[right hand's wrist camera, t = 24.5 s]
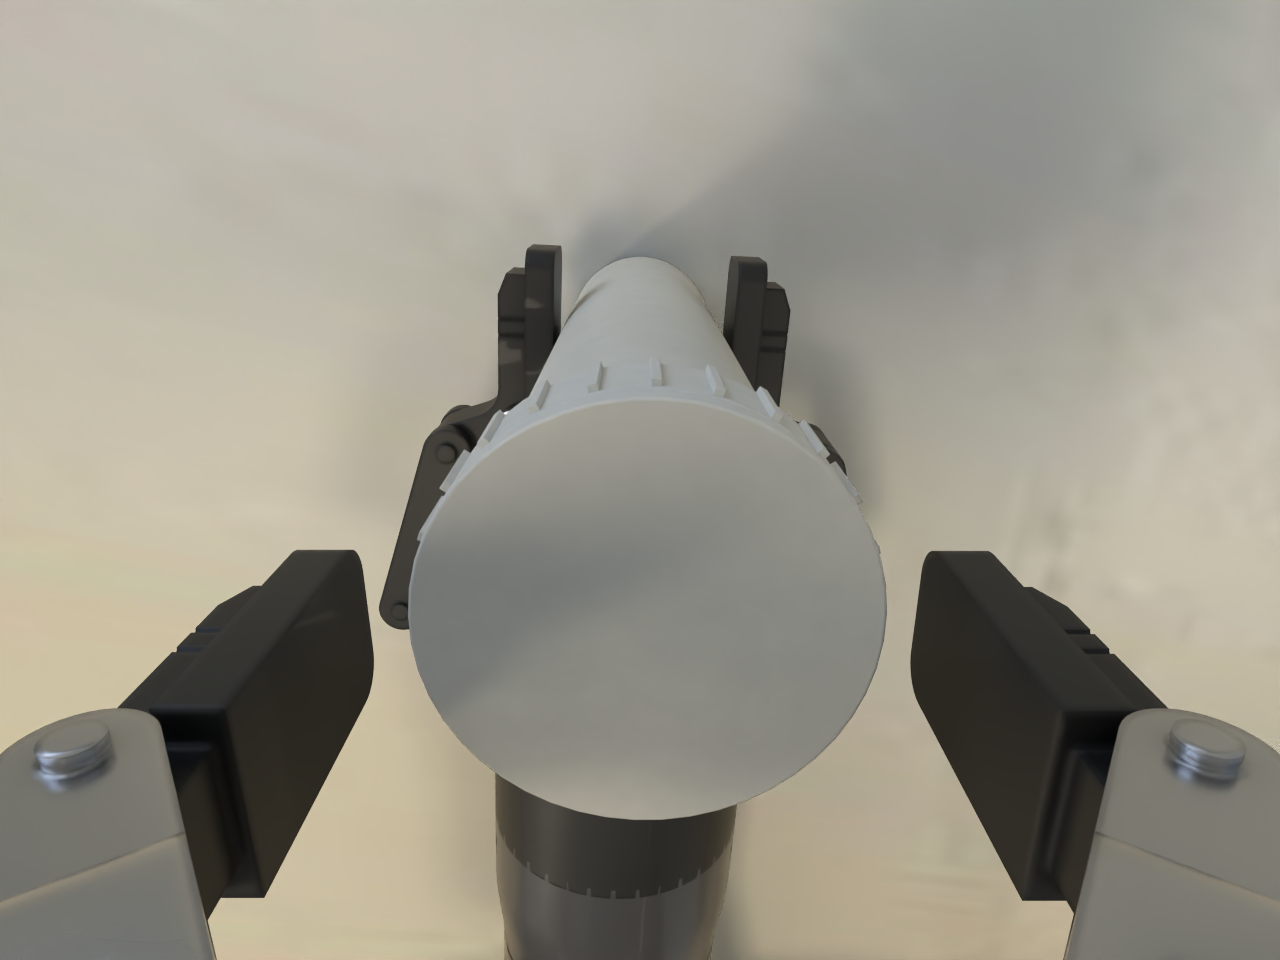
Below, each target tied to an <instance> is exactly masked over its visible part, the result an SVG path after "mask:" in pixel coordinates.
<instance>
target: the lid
mask: <svg viewBox="0 0 1280 960" xmlns="http://www.w3.org/2000/svg"><path fill="white" fill-rule="evenodd" d="M829 455H830V453H829V452H828V451H827V449H826V448H825V446H824V445H823V444H822V442H821V441H820V439H819V438H818V437H817V435H816V434H815V432H814V431H813V430H812V428H811V427H810V425H809V424H808V423H807V422H806V421H805V420H802V421H801V422H800V423H799V424H798V423H797V422H796V421H795V420H794V419H793V418H792V417H791V416H790V415H788V414H787V413H786V412H784V411H783V410H782V409H781V408H779V407H778V406H777V405H776V403H775V402H774V400H773V399H772V397H771V395H770V394H769V392H768V391H767V390H766V389H764V388H763V387H761V386H760V387H759V388H758V390H757V391H756V392H755V391H753V390H752V389H750V388H748V387H746V386H745V385H743V384H740V383H738V382H735V381H733V380H730V379H728V378H725V377H723V376H721V375H719V373H718V370H717V368H716V367H715V366H711V365H707V367H706V370H705V371H703V370H699V369H696V368H692V367H687V366H679V365H671V364H663V363H660V358H659V357H652V356H651V357H650V363H630V364H623V365H615V366H608V367H603V365H602V362H601V361H598V362H594V363H592V367H591V370H590V371H586V372H583V373H579V374H575V375H572V376H570V377H568V378H565V379H563V380H561V381H558V382H556V383H553V384H551V385H550V384H549V382H548V380H547V379H546V380H544V381H542V382H540V383H539V384H538V386H537V388H536V390H535V392H534V394H533V395H531V396H529V397H528V398H526V399H524V400H523V401H521V402H520V403H519V404H518V405H516V406H515V407H514V408H513V409H511V410H510V411H509V412H507V413H506V414H504V413H503V412H502V411H501V410H499V411H498V412H497V413H495V414H494V416H493V417H492V419H491V420H490V422H489V424H488V425H487V427H486V429H485V430H484V432H483V434H482V435H481V437H480V439H479V440H478V442H477V445H476V446H475V448H474V449H473V451H472V452H471V453H469V452H468V451H466V450H464V451H463V452H462V454H461V455H460V457H459V458H458V460H457V461H456V463H455V465H454V466H453V468H452V469H451V471H450V472H449V474H448V475H447V477H446V479H445V480H444V482H443V483H442V485H441V486H440V489H441V490H442V491H444V492H446V493H445V495H444V496H441V498H440V499H439V501H438V503H437V504H436V506H435V507H434V509H433V511H432V512H431V514H430V515H429V517H428V519H427V520H426V522H425V524H424V525H423V527H422V528H421V530H420V532H419V535H418V538H417V540H418V541H421V542H420V545H419V548H418V550H417V553H416V556H415V559H414V564H413V569H412V574H411V580H410V585H409V601H408V620H409V629H410V638H411V645H412V649H413V652H414V656H415V660H416V664H417V668H418V671H419V673H420V676H421V678H422V681H423V683H424V685H425V688H426V690H427V692H428V695H429V697H430V698H431V700H432V702H433V704H434V705H435V707H436V709H437V710H438V712H439V714H440V715H441V717H442V719H443V720H444V721H445V723H446V724H447V725H448V726H449V728H450V729H451V730H452V732H453V733H454V734H455V735H456V737H457V738H458V739H459V740H460V741H461V742H462V743H463V744H464V745H465V746H466V747H467V748H468V749H469V750H470V751H471V752H472V753H473V754H474V755H475V756H476V757H477V758H478V759H479V760H480V761H481V762H483V763H484V764H485V765H487V766H488V767H489V768H490V769H492V770H493V771H494V772H496V773H497V774H498V775H500V776H501V777H502V778H504V779H506V780H507V781H509V782H511V783H513V784H514V785H516V786H518V787H519V788H521V789H523V790H524V791H526V792H528V793H531V794H533V795H535V796H537V797H540V798H542V799H544V800H546V801H548V802H551V803H554V804H557V805H560V806H563V807H566V808H569V809H572V810H575V811H579V812H584V813H588V814H593V815H598V816H603V817H610V818H620V819H631V820H663V819H672V818H681V817H690V816H695V815H699V814H704V813H708V812H713V811H717V810H721V809H723V808H726V807H729V806H732V805H735V804H738V803H741V802H744V801H747V800H749V799H751V798H753V797H755V796H757V795H760V794H762V793H764V792H766V791H768V790H770V789H772V788H774V787H775V786H777V785H778V784H780V783H782V782H783V781H785V780H787V779H788V778H790V777H792V776H793V775H795V774H796V773H797V772H799V771H800V770H801V769H802V768H804V767H805V766H806V765H808V764H809V763H810V762H811V761H813V760H814V759H815V758H816V757H817V756H818V755H819V754H820V753H821V752H822V751H823V750H824V749H825V748H826V747H827V746H828V745H829V744H830V743H831V742H832V741H833V740H834V739H835V738H836V737H837V736H838V735H839V733H840V732H841V731H842V729H843V728H844V727H845V726H846V724H847V723H848V722H849V720H850V719H851V718H852V716H853V715H854V713H855V711H856V710H857V708H858V706H859V705H860V703H861V701H862V699H863V698H864V696H865V694H866V692H867V690H868V688H869V685H870V683H871V680H872V678H873V676H874V673H875V671H876V668H877V665H878V661H879V657H880V653H881V649H882V645H883V642H884V634H885V625H886V616H887V603H886V583H885V578H884V573H883V568H882V563H881V557H880V548H879V545H878V544H877V542H876V541H875V539H874V537H873V535H872V532H871V529H870V527H869V525H868V524H867V522H866V520H865V518H864V516H863V514H862V512H861V510H860V508H859V507H858V504H860V503H861V502H863V501H862V499H861V497H860V495H859V493H858V492H857V491H856V489H855V488H854V486H853V485H852V484H851V482H850V481H849V479H848V478H847V476H846V475H845V474H844V472H843V471H842V469H841V468H840V467H839V465H838V464H837V462H833V463H831V464H829V462H828V461H827V459H826V458H827V457H828V456H829Z"/></svg>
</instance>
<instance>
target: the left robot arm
mask: <svg viewBox="0 0 1280 960" xmlns="http://www.w3.org/2000/svg"><path fill="white" fill-rule="evenodd" d="M561 284H562V249H561V246H555V245H536V244H533V245H532V246H530V247H529V248H528V249H527V251H526V259H525V268H517V267H514V268H513V269H511V270H510V271H509V272H507V273H506V275H505V277H504V280H503V283H502V285H501V288H500V290H499V293H498V386H499V388H498V396H497V397H496V398H494V399H492V400H490V401H488V402H485V403H481V404H478V405H475V406H469V405H459V406H456V407H454V408H452V409H451V410H449V412H448V413H447V414H446V415H445V416H444V418H443V419H442V422H441V424H440V426H439V427H438V428H436V429H435V430H434V431H433V432H432V433H431V434H430V435H429V437H428V438H427V439H426V441H425V443H424V445H423V449H422V453H421V456H420V460H419V464H418V467H417V471H416V474H415V478H414V482H413V485H412V489H411V492H410V496H409V500H408V503H407V507H406V511H405V514H404V518H403V521H402V525H401V529H400V532H399V536H398V539H397V543H396V547H395V550H394V554H393V558H392V561H391V565H390V568H389V572H388V576H387V579H386V583H385V586H384V590H383V594H382V597H381V601H380V605H379V611H380V615H381V617H382V619H383V620H384V621H385V622H386V623H387V624H388V625H390V626H391V627H393V628H396V629H401V630H406V629H409V620H408V601H409V585H410V580H411V574H412V569H413V564H414V559H415V556H416V553H417V550H418V548H419V545H420V542H421V541H418V540H417V538H418V535H419V532H420V530H421V528H422V527H423V525H424V524H425V522H426V520H427V519H428V517H429V515H430V514H431V512H432V511H433V509H434V507H435V506H436V504H437V503H438V501H439V499H440V498H441V496H444V495H445V493H446V492H444V491H442V490H441V489H440V486H441V485H442V483H443V482H444V480H445V479H446V477H447V475H448V474H449V472H450V471H451V469H452V468H453V466H454V465H455V463H456V461H457V460H458V458H459V457H460V455H461V454H462V452H463V451H464V450H466V451H468V452H469V453H471V452H472V451H473V449H474V448H475V446H476V445H477V442H478V440H479V439H480V437H481V435H482V434H483V432H484V430H485V429H486V427H487V425H488V424H489V422H490V420H491V419H492V417H493V416H494V414H495V413H497V412H498V411H499V410H501V411H502V412H503V413H504V414H506V413H507V412H509V411H510V410H511V409H513V408H514V407H515V406H516V405H518V404H519V403H520V402H521V401H523V400H524V399H526V398H528V397H529V396H530V394H531V392H532V390H533V388H534V386H535V384H536V382H537V380H538V378H539V376H540V373H541V371H542V369H543V367H544V365H545V363H546V361H547V359H548V357H549V355H550V353H551V351H552V349H553V347H554V345H555V343H556V341H557V339H558V337H559V335H560V333H561ZM789 318H790V308H789V304H788V300H787V297H786V293H785V289H783V288H782V287H781V286H780V285H778V284H777V283H776V282H767V263H766V262H765V261H763V260H762V259H760V258H759V257H742V256H731V259H730V264H729V272H728V283H727V294H726V306H725V317H724V328H723V336H724V338H725V340H726V341H727V343H728V345H729V347H730V349H731V350H732V352H733V354H734V356H735V357H736V359H737V361H738V363H739V364H740V366H741V368H742V370H743V372H744V373H745V375H746V377H747V379H748V380H749V382H750V384H751V386H752V387H753V389H754V391H755V392H756V391H757V390H758V388H759V387H760V386H761V387H763V388H764V389H766V390H767V391H768V392H769V394H770V395H771V397H772V399H773V400H774V402H775V403H776V405H777V406H778V407H779V404H780V395H781V386H782V378H783V369H784V361H785V349H786V343H787V333H788V326H789ZM796 422H797V421H796ZM797 423H798V424H799V422H797ZM808 424H809V423H808ZM809 425H810V427H811V428H812V430H813V431H814V432H815V434H816V435H817V437H818V438H819V439H820V441H821V442H822V444H823V445H824V446H825V448H826V449H827V451H828V452H829V453H830V455H829V456H828V457H827V458H826V459H827V461H828V462H829V464H831V463H833V462H837V464H838V465H839V467H840V468H841V469H842V471H843V472H844V474H845V475H846V469H845V464H844V462H843V460H842V459H841V457H840V456H839V454H838V453H837V452H836V450H835V449H834V447H833V446H832V445H831V443H830V442H829V440H828V439H827V438H826V436H825V435H824V434H823V432H822V431H821V430H820V429H819V428H818V427H817V426H815V425H813V424H809ZM846 476H847V475H846ZM495 779H496V871H497V884H498V891H499V897H500V903H501V908H502V913H503V918H504V928H505V930H504V939H505V960H710V959H711V950H712V942H713V937H714V932H715V928H716V925H717V922H718V919H719V916H720V913H721V909H722V905H723V901H724V897H725V893H726V887H727V882H728V875H729V866H730V858H731V849H732V841H733V832H734V824H735V815H736V807H737V804H735V805H732V806H729V807H726V808H723V809H721V810H717V811H713V812H708V813H704V814H699V815H695V816H690V817H681V818H672V819H663V820H631V819H620V818H610V817H603V816H598V815H593V814H588V813H584V812H579V811H575V810H572V809H569V808H566V807H563V806H560V805H557V804H554V803H551V802H548V801H546V800H544V799H542V798H540V797H537V796H535V795H533V794H531V793H528V792H526V791H524V790H523V789H521V788H519V787H518V786H516V785H514V784H513V783H511V782H509V781H507V780H506V779H504V778H502V777H501V776H500V775H498V774H497V773H496V772H495Z"/></svg>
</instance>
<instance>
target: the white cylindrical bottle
mask: <svg viewBox="0 0 1280 960" xmlns="http://www.w3.org/2000/svg"><path fill="white" fill-rule="evenodd" d="M651 356H652V357H659V358H660V363H663V364H671V365H679V366H687V367H692V368H696V369H699V370H703V371H705V370H706V367H707V365H711V366H715V367H716V368H717V370H718V373H719V375H721V376H723V377H725V378H728V379H730V380H733V381H735V382H738V383H740V384H743V385H745V386H746V387H748V388H750V389H752V390H753V391H754V389H753V387H752V386H751V384H750V382H749V380H748V379H747V377H746V375H745V373H744V372H743V370H742V368H741V366H740V364H739V363H738V361H737V359H736V357H735V356H734V354H733V352H732V350H731V349H730V347H729V345H728V343H727V341H726V340H725V338H724V336H723V334H722V333H721V331H720V329H719V327H718V326H717V324H716V322H715V320H714V318H713V317H712V315H711V313H710V311H709V310H708V308H707V306H706V304H705V303H704V301H703V299H702V297H701V295H700V294H699V292H698V290H697V289H696V287H695V286H694V284H693V283H692V282H691V280H690V279H689V278H688V277H687V276H686V275H685V274H684V273H683V272H682V271H680V270H679V269H677V268H676V267H674V266H673V265H671V264H669V263H667V262H664V261H661V260H659V259H654V258H650V257H630V258H625V259H621V260H618V261H615V262H613V263H611V264H609V265H607V266H605V267H604V268H602V269H601V270H599V271H598V272H597V273H596V274H595V275H594V276H593V277H592V278H591V279H590V280H589V281H588V282H587V284H586V285H585V286H584V288H583V290H582V291H581V293H580V295H579V297H578V299H577V301H576V303H575V305H574V307H573V309H572V311H571V313H570V315H569V317H568V319H567V321H566V323H565V325H564V327H563V329H562V331H561V333H560V335H559V337H558V339H557V341H556V343H555V345H554V347H553V349H552V351H551V353H550V355H549V357H548V359H547V361H546V363H545V365H544V367H543V369H542V371H541V373H540V376H539V378H538V380H537V382H536V384H535V386H534V388H533V390H532V392H531V394H530V396H531V395H533V394H534V392H535V390H536V388H537V386H538V384H539V383H540V382H542V381H544V380H546V379H547V380H548V382H549V384H550V385H551V384H553V383H556V382H558V381H561V380H563V379H565V378H568V377H570V376H572V375H575V374H579V373H583V372H586V371H590V370H591V367H592V363H594V362H598V361H601V362H602V365H603V367H608V366H615V365H623V364H630V363H650V357H651Z"/></svg>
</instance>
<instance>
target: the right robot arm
mask: <svg viewBox="0 0 1280 960" xmlns="http://www.w3.org/2000/svg"><path fill="white" fill-rule="evenodd" d="M373 670H374V655H373V646H372V638H371V630H370V622H369V615H368V607H367V599H366V591H365V584H364V576H363V569H362V564H361V560H360V558H359V556H358V554H357V553H356V551H354V550H296V551H294V552H293V553H291V555H290V556H289V557H288V558H287V559H286V560H285V561H284V562H283V563H282V564H281V565H280V566H279V568H278V569H277V570H276V571H275V572H274V573H273V574H272V575H271V576H270V577H269V578H268V579H267V581H266V582H265V583H264V584H263V585H262V586H252V587H250V588H248V589H247V590H245V591H243V592H241V593H239V594H238V595H236V596H234V597H232V598H230V599H229V600H227V601H225V602H223V603H221V604H220V605H218V606H217V607H216V608H215V609H214V610H213V611H212V612H211V613H210V614H209V615H208V616H207V617H206V618H205V619H204V620H203V621H202V622H201V623H200V624H199V625H198V626H197V627H196V632H195V633H190V634H189V635H188V636H187V638H186V639H185V640H184V641H183V642H182V643H181V644H180V645H179V646H178V647H177V652H172V653H171V654H170V655H169V656H168V657H167V658H166V659H165V660H164V661H163V662H162V663H161V664H160V665H159V666H158V667H157V668H156V669H155V670H154V671H153V672H152V673H151V674H150V675H149V676H148V677H147V678H146V679H145V680H144V681H143V682H142V683H141V684H140V685H139V686H138V687H137V688H136V689H135V691H134V692H133V693H132V694H131V695H130V696H129V697H128V698H127V699H126V700H125V701H124V702H123V703H122V704H121V705H120V706H119V707H118V708H113V709H102V710H96V711H91V712H86V713H82V714H78V715H74V716H71V717H68V718H65V719H62V720H59V721H56V722H54V723H51V724H49V725H47V726H44V727H42V728H40V729H38V730H36V731H34V732H32V733H30V734H28V735H27V736H25V737H23V738H22V739H20V740H18V741H17V742H15V743H14V744H13V745H11V746H10V747H9V748H7V749H6V750H5V751H4V752H3V753H1V754H0V960H217V958H216V954H215V950H214V946H213V941H212V937H211V933H210V929H209V925H208V919H209V917H210V915H211V913H212V912H213V910H214V908H215V907H216V905H217V903H218V901H219V900H220V898H264V897H265V895H266V893H267V891H268V890H269V888H270V886H271V884H272V882H273V880H274V878H275V876H276V874H277V872H278V870H279V868H280V866H281V865H282V863H283V861H284V859H285V857H286V855H287V853H288V851H289V849H290V847H291V845H292V843H293V841H294V840H295V838H296V836H297V834H298V832H299V830H300V828H301V826H302V824H303V822H304V820H305V818H306V816H307V815H308V813H309V811H310V809H311V807H312V805H313V803H314V801H315V799H316V797H317V795H318V793H319V791H320V790H321V788H322V786H323V784H324V782H325V780H326V778H327V776H328V774H329V772H330V770H331V768H332V766H333V765H334V763H335V761H336V759H337V757H338V755H339V753H340V751H341V749H342V747H343V745H344V743H345V741H346V740H347V738H348V736H349V734H350V732H351V730H352V728H353V726H354V724H355V722H356V720H357V718H358V716H359V715H360V713H361V711H362V709H363V707H364V705H365V703H366V701H367V699H368V696H369V693H370V689H371V685H372V679H373ZM911 678H912V684H913V689H914V693H915V696H916V699H917V701H918V704H919V706H920V707H921V709H922V711H923V713H924V715H925V717H926V719H927V721H928V723H929V724H930V726H931V728H932V730H933V732H934V734H935V736H936V738H937V740H938V742H939V743H940V745H941V747H942V749H943V751H944V753H945V755H946V757H947V759H948V761H949V762H950V764H951V766H952V768H953V770H954V772H955V774H956V776H957V778H958V779H959V781H960V783H961V785H962V787H963V789H964V791H965V793H966V795H967V797H968V798H969V800H970V802H971V804H972V806H973V808H974V810H975V812H976V814H977V816H978V817H979V819H980V821H981V823H982V825H983V827H984V829H985V831H986V833H987V835H988V836H989V838H990V840H991V842H992V844H993V846H994V848H995V850H996V852H997V853H998V855H999V857H1000V859H1001V861H1002V863H1003V865H1004V867H1005V869H1006V871H1007V872H1008V874H1009V876H1010V878H1011V880H1012V882H1013V884H1014V886H1015V888H1016V890H1017V891H1018V893H1019V895H1020V897H1021V899H1022V901H1067V902H1068V904H1069V906H1070V907H1071V909H1072V911H1073V913H1074V916H1073V920H1072V925H1071V929H1070V933H1069V937H1068V941H1067V945H1066V950H1065V954H1064V958H1063V960H1280V754H1279V753H1277V752H1276V751H1275V750H1274V749H1273V748H1271V747H1270V746H1269V745H1267V744H1266V743H1265V742H1263V741H1262V740H1260V739H1258V738H1257V737H1255V736H1253V735H1252V734H1250V733H1248V732H1246V731H1244V730H1242V729H1240V728H1238V727H1236V726H1233V725H1231V724H1229V723H1226V722H1224V721H1221V720H1218V719H1215V718H1212V717H1209V716H1206V715H1202V714H1198V713H1194V712H1189V711H1184V710H1178V709H1168V708H1167V707H1166V706H1165V705H1164V704H1163V703H1162V702H1161V701H1160V700H1159V699H1158V698H1157V697H1156V696H1155V695H1154V694H1153V693H1152V692H1151V691H1150V690H1149V689H1148V688H1147V687H1146V686H1145V685H1144V683H1143V682H1142V681H1141V680H1140V679H1139V678H1138V677H1137V676H1136V675H1135V674H1134V673H1133V672H1132V671H1131V670H1130V669H1129V668H1128V667H1127V666H1126V665H1125V664H1124V663H1123V662H1122V661H1121V660H1120V659H1119V658H1118V657H1117V656H1116V655H1115V654H1110V653H1109V648H1108V647H1107V646H1106V645H1105V644H1104V643H1103V642H1102V641H1101V640H1100V639H1099V638H1098V637H1097V636H1096V635H1095V634H1090V629H1089V628H1088V627H1087V626H1086V625H1085V624H1084V623H1083V622H1082V621H1081V620H1080V619H1079V618H1078V617H1077V616H1076V615H1075V614H1074V613H1073V612H1072V611H1071V610H1070V609H1069V608H1068V607H1067V606H1065V605H1063V604H1062V603H1060V602H1058V601H1056V600H1054V599H1053V598H1051V597H1049V596H1047V595H1045V594H1044V593H1042V592H1040V591H1038V590H1036V589H1035V588H1033V587H1023V586H1022V585H1021V584H1020V582H1019V581H1018V580H1017V579H1016V578H1015V577H1014V576H1013V575H1012V574H1011V573H1010V572H1009V571H1008V570H1007V568H1006V567H1005V566H1004V565H1003V564H1002V563H1001V562H1000V561H999V560H998V559H997V558H996V557H995V556H994V555H993V554H992V553H991V552H989V551H931V552H929V553H928V554H927V556H926V558H925V560H924V563H923V567H922V573H921V581H920V589H919V596H918V604H917V611H916V619H915V627H914V634H913V642H912V650H911Z"/></svg>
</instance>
